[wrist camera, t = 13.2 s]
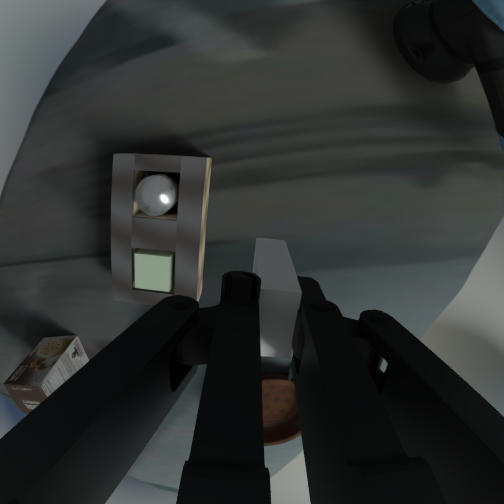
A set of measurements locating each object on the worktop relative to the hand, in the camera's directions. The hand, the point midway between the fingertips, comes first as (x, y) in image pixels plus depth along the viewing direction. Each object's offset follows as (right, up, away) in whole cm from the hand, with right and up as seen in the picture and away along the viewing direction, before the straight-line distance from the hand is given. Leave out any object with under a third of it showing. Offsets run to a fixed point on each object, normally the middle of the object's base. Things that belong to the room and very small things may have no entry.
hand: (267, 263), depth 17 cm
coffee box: (-37, -18, +36) cm, 54 cm away
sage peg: (-14, 0, +30) cm, 33 cm away
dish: (+2, -27, +40) cm, 48 cm away
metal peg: (-13, +10, +28) cm, 32 cm away
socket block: (-13, +5, +29) cm, 33 cm away
